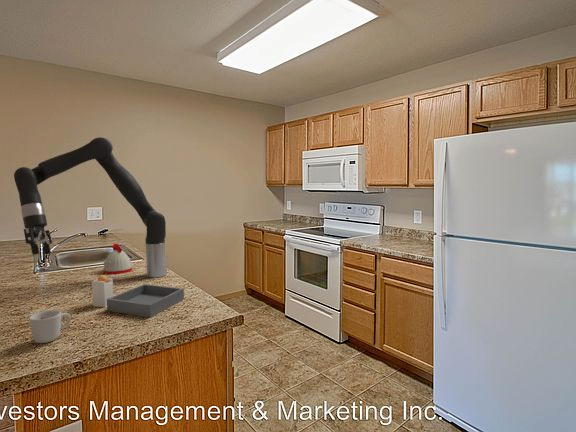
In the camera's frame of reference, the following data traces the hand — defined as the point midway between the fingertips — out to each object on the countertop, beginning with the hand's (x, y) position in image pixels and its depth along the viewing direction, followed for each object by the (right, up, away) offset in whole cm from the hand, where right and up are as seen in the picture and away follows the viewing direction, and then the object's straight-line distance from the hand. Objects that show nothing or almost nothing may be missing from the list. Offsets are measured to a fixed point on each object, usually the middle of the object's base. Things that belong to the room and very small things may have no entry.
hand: (42, 254), depth 138 cm
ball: (+27, -9, -4) cm, 29 cm away
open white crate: (+27, -20, -3) cm, 33 cm away
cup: (+26, -23, -32) cm, 47 cm away
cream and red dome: (+7, -15, +48) cm, 50 cm away
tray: (+44, -20, -3) cm, 48 cm away
